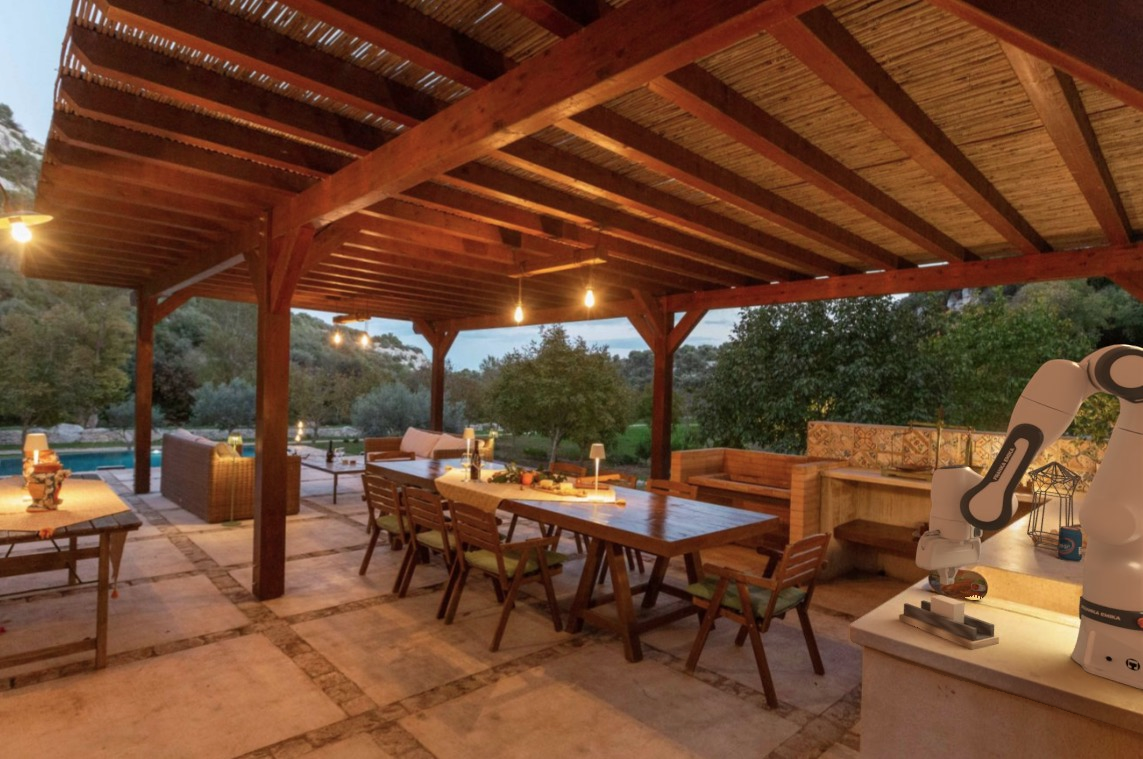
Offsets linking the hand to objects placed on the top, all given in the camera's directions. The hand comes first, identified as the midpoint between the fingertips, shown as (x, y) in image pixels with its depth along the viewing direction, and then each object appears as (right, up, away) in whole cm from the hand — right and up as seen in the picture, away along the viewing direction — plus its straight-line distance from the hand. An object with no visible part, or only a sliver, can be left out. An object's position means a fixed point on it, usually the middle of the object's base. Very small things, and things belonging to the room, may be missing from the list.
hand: (946, 583), depth 156 cm
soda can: (+92, -16, +76) cm, 121 cm away
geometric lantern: (+100, -17, +95) cm, 139 cm away
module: (0, -10, 0) cm, 10 cm away
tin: (+20, -13, +28) cm, 37 cm away
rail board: (0, -12, 0) cm, 12 cm away
